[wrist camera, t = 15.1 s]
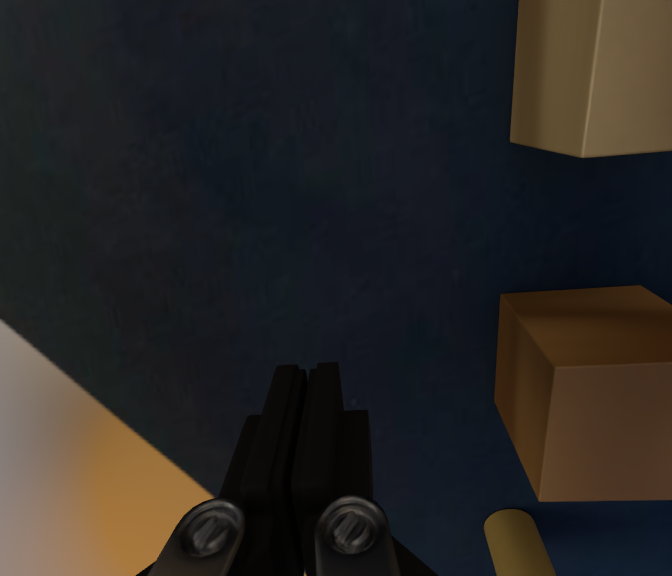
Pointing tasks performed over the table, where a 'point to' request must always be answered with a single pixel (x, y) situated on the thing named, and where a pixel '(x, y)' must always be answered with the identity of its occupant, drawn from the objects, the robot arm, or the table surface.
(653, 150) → the maple block
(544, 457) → the oak block
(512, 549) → the post
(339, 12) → the table surface
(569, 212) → the table surface
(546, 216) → the table surface
